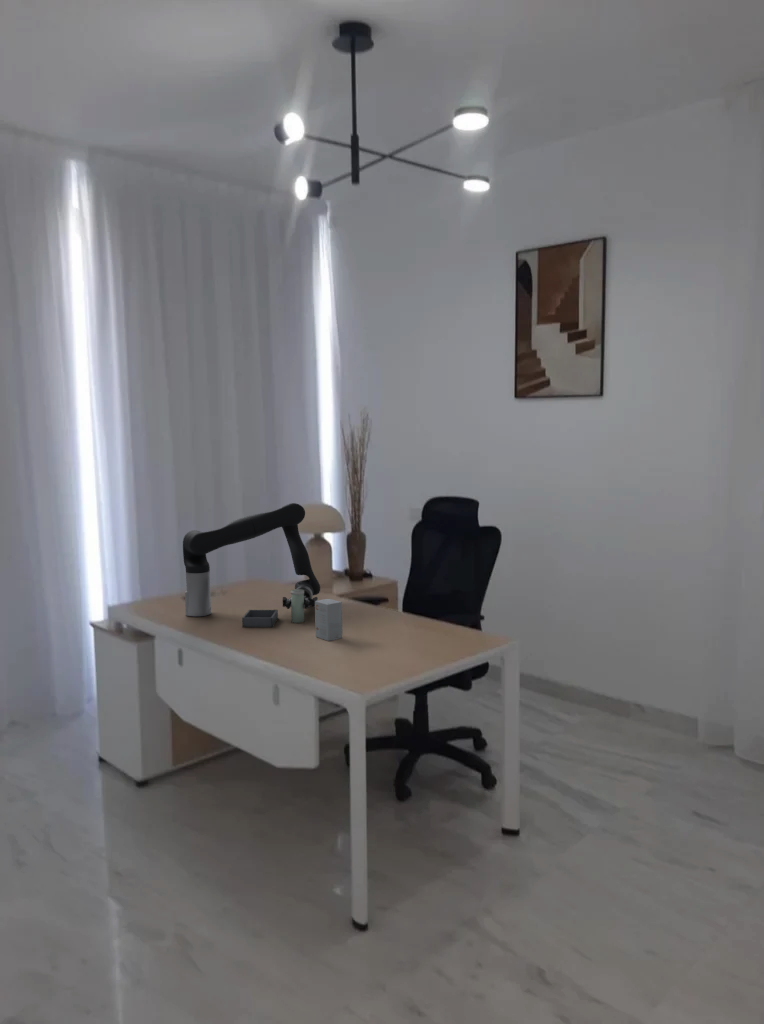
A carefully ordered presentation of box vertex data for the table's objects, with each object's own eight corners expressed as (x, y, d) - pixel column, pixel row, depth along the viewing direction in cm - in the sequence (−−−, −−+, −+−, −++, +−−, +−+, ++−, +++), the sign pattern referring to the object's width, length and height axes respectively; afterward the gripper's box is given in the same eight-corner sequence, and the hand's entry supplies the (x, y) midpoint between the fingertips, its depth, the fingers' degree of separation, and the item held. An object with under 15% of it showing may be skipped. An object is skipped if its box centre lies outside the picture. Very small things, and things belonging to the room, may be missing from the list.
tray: (242, 627, 299) (242, 617, 299) (249, 618, 312) (248, 609, 312) (272, 627, 299) (272, 617, 298) (277, 618, 312) (277, 609, 311)
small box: (342, 638, 283) (342, 601, 281) (328, 641, 279) (327, 604, 277) (329, 633, 289) (328, 598, 287) (314, 636, 285) (314, 600, 283)
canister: (290, 623, 305) (289, 592, 303) (292, 619, 310) (291, 589, 308) (303, 623, 304) (303, 592, 303) (305, 619, 309) (304, 589, 308)
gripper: (284, 587, 321) (277, 596, 304) (320, 587, 320) (315, 596, 303) (284, 605, 321) (278, 615, 305) (320, 605, 321) (315, 615, 304)
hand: (296, 606), depth 304 cm, fingers open, 6 cm apart
